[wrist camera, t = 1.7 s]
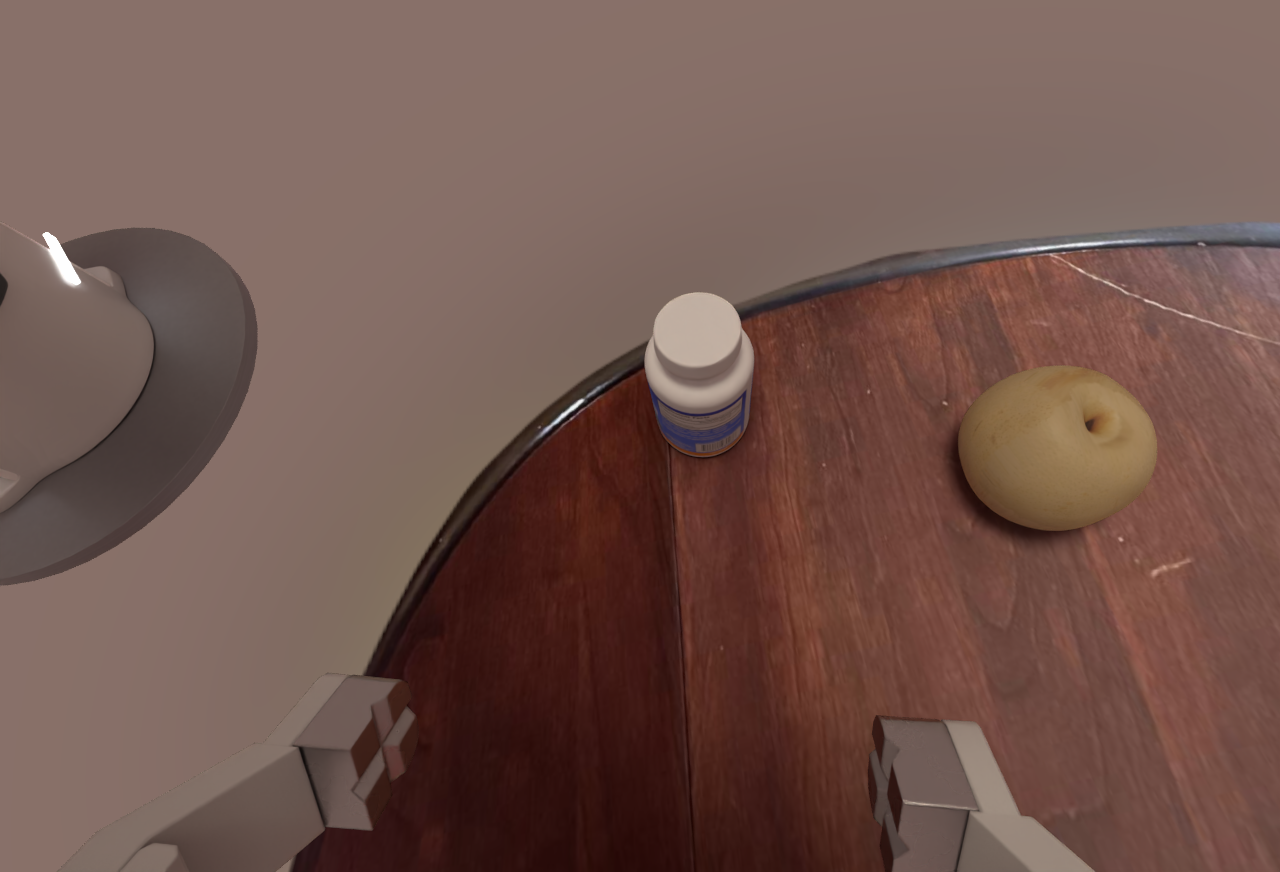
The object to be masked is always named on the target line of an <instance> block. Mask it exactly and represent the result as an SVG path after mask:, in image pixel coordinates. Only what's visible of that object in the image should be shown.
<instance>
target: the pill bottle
mask: <svg viewBox="0 0 1280 872" xmlns="http://www.w3.org/2000/svg"><path fill="white" fill-rule="evenodd" d="M753 370H754V352H753V348H752V345H751V342H750V340H749V338H748V336H747V334H746V333H745V332H744V330H743V329H742V328H741V322H740V318H739V316H738V313H737V312H736V310H735V309H734V308H733V306H732V305H731V304H730V303H728V302H727V301H726V300H725V299H723V298H721V297H719V296H716V295H713V294H710V293H702V292H696V293H689V294H685V295H682V296H679V297H677V298H675V299H673V300H671V301H670V302H669V303H667V304H666V305H665V306H664V307H663V308H662V310H661V311H660V312H659V314H658V316H657V318H656V320H655V323H654V329H653V336H652V338H651V339H650V341H649V343H648V346H647V349H646V353H645V371H646V376H647V380H648V384H649V388H650V392H651V396H652V400H653V405H654V409H655V413H656V418H657V422H658V425H659V428H660V430H661V433H662V435H663V436H664V438H665V439H666V440H667V442H668V443H669V444H671V445H672V446H673V447H674V448H675V449H677V450H679V451H680V452H682V453H684V454H687V455H690V456H695V457H710V456H715V455H718V454H721V453H723V452H725V451H727V450H728V449H730V448H731V447H733V446H734V445H735V444H736V443H737V442H738V441H739V439H740V438H741V437H742V435H743V434H744V432H745V429H746V427H747V424H748V420H749V414H750V400H751V390H752V380H753Z"/></svg>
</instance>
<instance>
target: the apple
mask: <svg viewBox="0 0 1280 872" xmlns="http://www.w3.org/2000/svg"><path fill="white" fill-rule="evenodd" d="M958 449H959V456H960V461H961V465H962V468H963V471H964V474H965V476H966V479H967V481H968V483H969V485H970V486H971V488H972V490H973V491H974V493H975V494H976V496H977V497H978V498H979V499H980V500H981V501H982V502H983V503H984V504H985V505H986V506H987V507H989V508H990V509H991V510H992V511H994V512H995V513H997V514H998V515H1000V516H1002V517H1003V518H1005V519H1007V520H1009V521H1012V522H1014V523H1016V524H1019V525H1022V526H1026V527H1030V528H1034V529H1039V530H1047V531H1063V530H1072V529H1077V528H1080V527H1084V526H1088V525H1090V524H1093V523H1096V522H1098V521H1101V520H1103V519H1105V518H1107V517H1109V516H1111V515H1113V514H1115V513H1117V512H1119V511H1120V510H1122V509H1124V508H1125V507H1126V506H1128V505H1129V504H1130V503H1131V502H1133V501H1134V500H1135V499H1136V498H1137V497H1138V496H1139V495H1140V494H1141V492H1142V491H1143V490H1144V489H1145V487H1146V486H1147V484H1148V482H1149V481H1150V479H1151V477H1152V474H1153V471H1154V468H1155V465H1156V459H1157V441H1156V434H1155V430H1154V427H1153V424H1152V422H1151V419H1150V418H1149V416H1148V414H1147V413H1146V411H1145V410H1144V409H1143V407H1142V406H1141V404H1140V403H1139V402H1138V401H1137V399H1136V398H1135V397H1134V396H1133V395H1132V394H1130V393H1129V392H1128V391H1127V390H1126V389H1125V388H1124V387H1122V386H1121V385H1120V384H1118V383H1117V382H1116V381H1114V380H1113V379H1112V378H1110V377H1108V376H1106V375H1105V374H1102V373H1100V372H1097V371H1094V370H1091V369H1087V368H1083V367H1076V366H1046V367H1039V368H1034V369H1030V370H1025V371H1022V372H1019V373H1016V374H1014V375H1011V376H1009V377H1007V378H1005V379H1003V380H1001V381H1000V382H998V383H996V384H995V385H993V386H992V387H990V388H989V389H988V390H986V391H985V392H984V393H983V394H981V395H980V396H979V397H978V398H977V399H976V400H975V401H974V403H973V404H972V405H971V406H970V407H969V409H968V411H967V412H966V414H965V416H964V418H963V420H962V423H961V426H960V429H959V435H958Z"/></svg>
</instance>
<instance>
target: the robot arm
mask: <svg viewBox="0 0 1280 872" xmlns="http://www.w3.org/2000/svg"><path fill="white" fill-rule="evenodd" d="M43 235H44V238H45V239H46V241H47V242H48V245H49V247H50V248H51V250H50V249H48V248H46V247H45V246H43V245H41V244H40V243H38V242H36V241H34V240H33V239H31V238H29V237H28V236H26V235H24V234H22V233H21V232H19V231H17V230H15V229H14V228H12V227H10V226H8V225H7V224H5V223H3V222H1V221H0V513H1V512H4V511H5V510H7V509H9V508H10V507H12V506H13V505H14V504H15V503H17V502H18V501H19V500H20V499H21V498H22V497H23V496H24V495H26V494H27V493H28V492H29V491H30V490H31V489H32V488H33V487H34V486H35V485H36V484H37V483H38V482H39V481H40V480H42V479H43V478H45V477H46V476H48V475H50V474H51V473H53V472H55V471H57V470H58V469H60V468H62V467H64V466H66V465H68V464H70V463H71V462H73V461H75V460H76V459H78V458H80V457H81V456H83V455H84V454H86V453H87V452H88V451H90V450H91V449H92V448H94V447H95V446H96V445H97V444H99V443H100V442H101V441H102V440H103V439H104V438H105V437H107V436H108V435H109V434H110V433H111V432H112V431H113V430H114V429H115V427H116V426H117V425H118V424H119V423H120V422H121V421H122V420H123V418H124V417H125V416H126V415H127V413H128V412H129V411H130V409H131V408H132V406H133V405H134V403H135V402H136V400H137V398H138V397H139V395H140V393H141V391H142V389H143V387H144V385H145V383H146V380H147V378H148V375H149V372H150V369H151V365H152V360H153V354H154V339H153V333H152V329H151V326H150V324H149V322H148V320H147V318H146V317H145V316H144V314H143V313H142V312H141V311H140V310H139V309H138V308H137V307H135V306H134V305H133V304H132V303H131V302H130V301H129V300H128V298H127V297H126V293H125V288H124V284H123V280H122V278H121V277H120V275H119V274H117V273H115V272H114V271H112V270H110V269H108V268H107V267H104V266H98V267H92V268H87V269H82V268H81V267H79V266H77V265H75V264H74V263H72V262H70V261H69V260H68V259H67V257H66V255H65V253H64V252H63V250H62V248H61V246H60V244H59V243H58V241H57V239H56V238H55V237H53V236H52V235H50V234H49V233H48V232H46V233H45V234H43ZM411 697H412V695H411V691H410V688H409V684H408V682H406V681H403V680H398V679H389V678H379V677H369V676H360V675H345V674H335V673H327V674H325V675H323V676H321V677H319V678H318V679H317V680H316V682H315V683H314V684H313V685H312V686H311V687H310V689H309V690H308V691H307V692H306V693H305V694H304V696H303V697H302V698H301V699H300V700H299V702H298V703H297V704H296V705H295V706H294V708H293V709H292V710H291V711H290V712H289V713H288V714H287V716H286V717H285V718H284V719H283V720H282V721H281V722H280V724H279V725H278V726H277V727H276V728H275V730H274V731H273V732H272V733H271V734H270V735H269V736H268V738H267V739H266V740H265V741H264V742H263V743H254V744H252V745H250V746H248V747H246V748H245V749H243V750H241V751H239V752H238V753H236V754H234V755H232V756H230V757H229V758H227V759H225V760H224V761H222V762H220V763H218V764H216V765H215V766H213V767H211V768H209V769H208V770H206V771H204V772H202V773H200V774H199V775H197V776H195V777H193V778H192V779H190V780H188V781H186V782H184V783H183V784H181V785H179V786H177V787H176V788H174V789H172V790H170V791H169V792H167V793H165V794H163V795H161V796H160V797H158V798H156V799H154V800H153V801H151V802H149V803H147V804H145V805H144V806H142V807H140V808H138V809H137V810H135V811H133V812H131V813H129V814H128V815H126V816H124V817H122V818H121V819H119V820H117V821H115V822H113V823H112V824H110V825H109V826H107V827H105V828H103V829H101V830H99V831H97V832H96V833H95V834H94V835H93V836H92V837H91V838H90V839H89V840H88V841H87V842H86V843H85V844H84V845H83V846H82V847H81V848H80V849H79V850H78V851H77V852H76V853H75V854H74V855H73V856H72V857H71V858H70V859H69V860H68V861H67V862H66V863H65V864H64V865H63V866H62V867H61V868H60V869H59V870H58V871H57V872H276V871H277V870H278V869H279V868H281V867H282V866H283V865H284V864H285V863H286V862H288V861H289V860H290V859H291V858H292V857H294V856H295V855H296V854H297V853H298V852H300V851H301V850H302V849H303V848H304V847H305V846H307V845H308V844H309V843H310V842H311V841H313V840H314V839H315V838H316V837H317V836H318V835H320V834H321V833H322V832H323V831H324V830H325V827H334V828H346V829H359V830H371V831H372V830H373V828H374V827H375V825H376V823H377V821H378V820H379V818H380V816H381V814H382V812H383V811H384V809H385V807H386V805H387V804H388V802H389V800H390V798H391V797H392V795H393V794H392V788H391V782H392V781H393V780H395V779H396V778H398V777H399V776H400V775H402V774H403V773H405V772H406V770H407V768H408V766H409V764H410V763H411V761H412V759H413V757H414V753H415V749H416V746H417V742H418V728H419V726H418V721H417V717H416V715H415V714H414V713H413V712H412V711H411V710H410V709H409V708H408V707H407V706H406V705H407V704H408V702H409V700H410V699H411ZM872 735H873V739H874V744H875V748H876V749H875V750H873V751H872V752H871V753H870V754H869V764H868V789H869V796H870V803H871V808H872V813H873V817H874V819H875V820H876V821H877V822H878V823H879V825H880V826H881V827H882V833H881V840H880V849H881V854H882V858H883V863H884V867H885V871H886V872H1095V871H1094V870H1093V869H1092V868H1091V867H1089V866H1088V865H1087V864H1086V863H1085V862H1084V861H1082V860H1081V859H1080V858H1079V857H1078V856H1077V855H1075V854H1074V853H1073V852H1072V851H1071V850H1070V849H1069V848H1067V847H1066V846H1065V845H1064V844H1063V843H1062V842H1060V841H1059V840H1058V839H1057V838H1056V837H1055V836H1053V835H1052V834H1051V833H1050V832H1049V831H1048V830H1047V829H1045V828H1044V827H1043V826H1042V825H1041V824H1040V823H1038V822H1037V821H1036V820H1035V819H1034V818H1033V817H1027V816H1021V814H1020V812H1019V810H1018V808H1017V806H1016V803H1015V801H1014V799H1013V797H1012V795H1011V792H1010V790H1009V788H1008V786H1007V784H1006V782H1005V779H1004V777H1003V775H1002V773H1001V771H1000V769H999V766H998V764H997V762H996V760H995V758H994V756H993V753H992V751H991V749H990V747H989V745H988V743H987V740H986V738H985V736H984V734H983V732H982V730H981V727H980V726H979V725H978V724H977V723H976V722H971V721H956V720H941V721H940V720H938V719H924V718H909V717H894V716H878V715H876V717H875V720H874V723H873V730H872Z"/></svg>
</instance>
